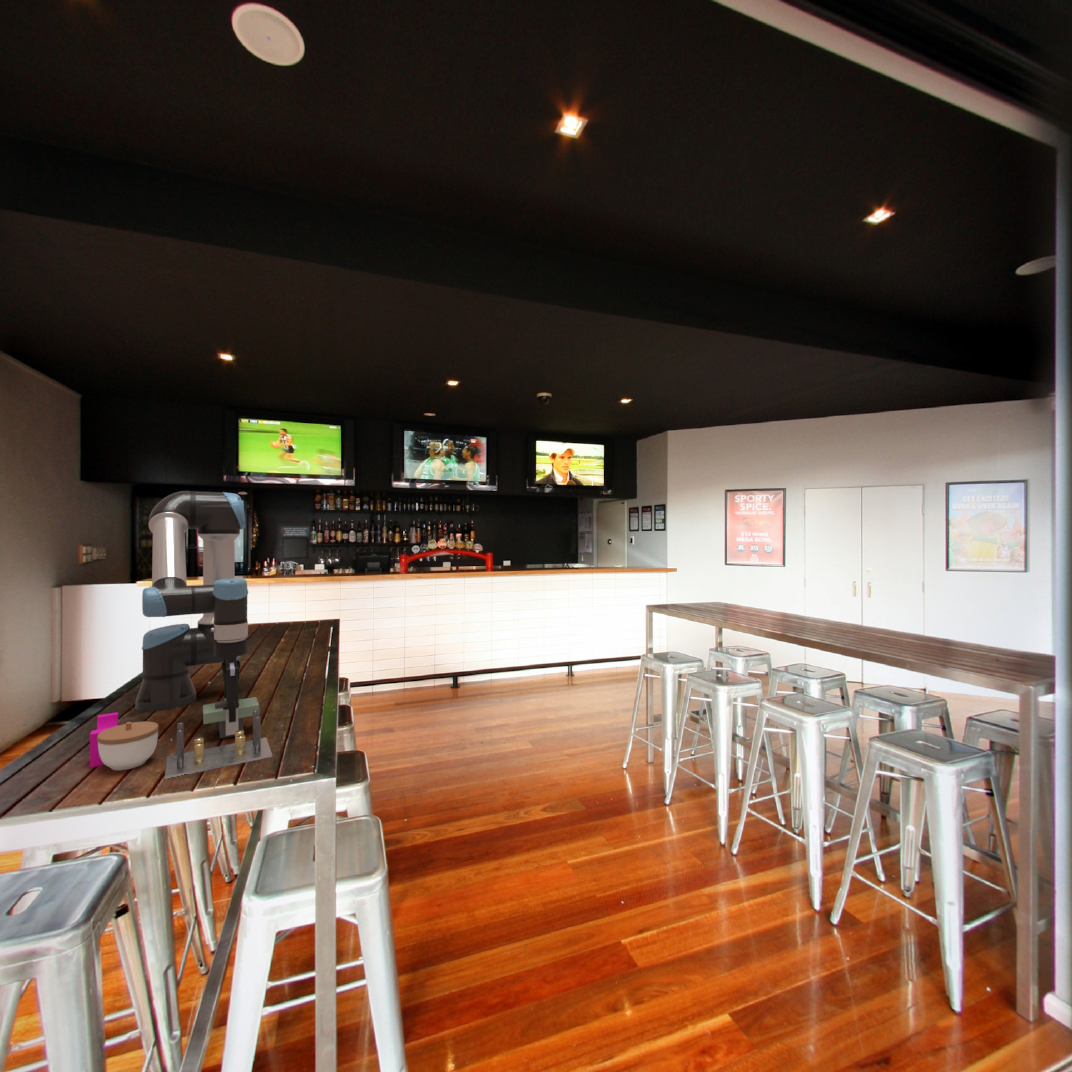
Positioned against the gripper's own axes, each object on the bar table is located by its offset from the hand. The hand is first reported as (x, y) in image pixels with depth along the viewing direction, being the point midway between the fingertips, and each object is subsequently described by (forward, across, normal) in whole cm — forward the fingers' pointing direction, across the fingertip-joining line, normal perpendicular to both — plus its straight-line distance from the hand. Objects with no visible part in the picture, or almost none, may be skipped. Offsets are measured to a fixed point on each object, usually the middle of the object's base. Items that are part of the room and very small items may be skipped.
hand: (231, 728), depth 134 cm
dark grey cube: (+1, 0, 0) cm, 1 cm away
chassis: (+1, +16, -3) cm, 16 cm away
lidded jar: (+2, +8, -20) cm, 22 cm away
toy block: (+2, -2, -24) cm, 24 cm away
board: (-4, 0, 0) cm, 4 cm away
